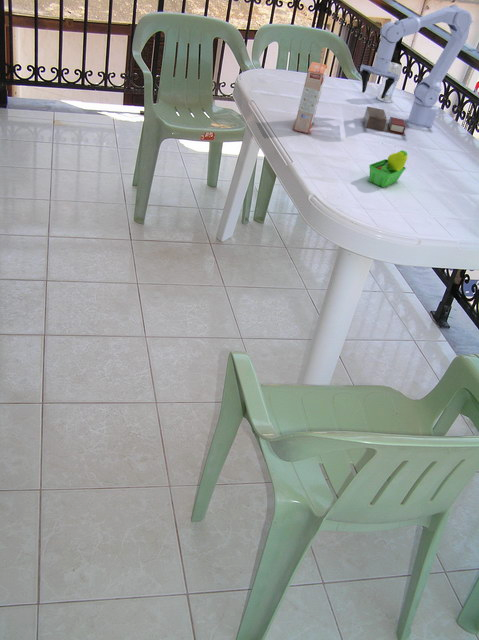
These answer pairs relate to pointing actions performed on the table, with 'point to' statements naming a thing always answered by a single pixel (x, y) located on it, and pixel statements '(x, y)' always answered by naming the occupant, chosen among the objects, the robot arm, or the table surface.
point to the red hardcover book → (396, 125)
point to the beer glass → (394, 69)
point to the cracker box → (310, 97)
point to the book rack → (377, 120)
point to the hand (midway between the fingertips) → (373, 95)
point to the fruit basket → (388, 169)
